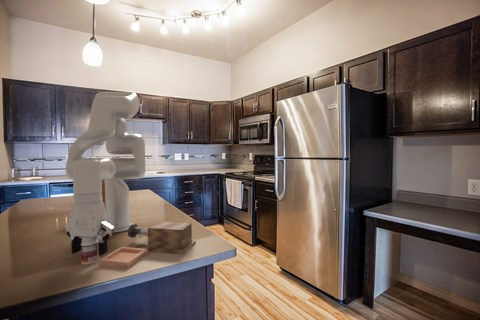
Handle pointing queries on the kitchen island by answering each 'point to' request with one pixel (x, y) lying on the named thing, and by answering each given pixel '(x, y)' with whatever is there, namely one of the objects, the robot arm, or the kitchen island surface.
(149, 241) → the block
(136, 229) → the shaft
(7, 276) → the kitchen island surface
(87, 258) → the pill bottle
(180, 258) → the kitchen island surface
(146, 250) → the tray
